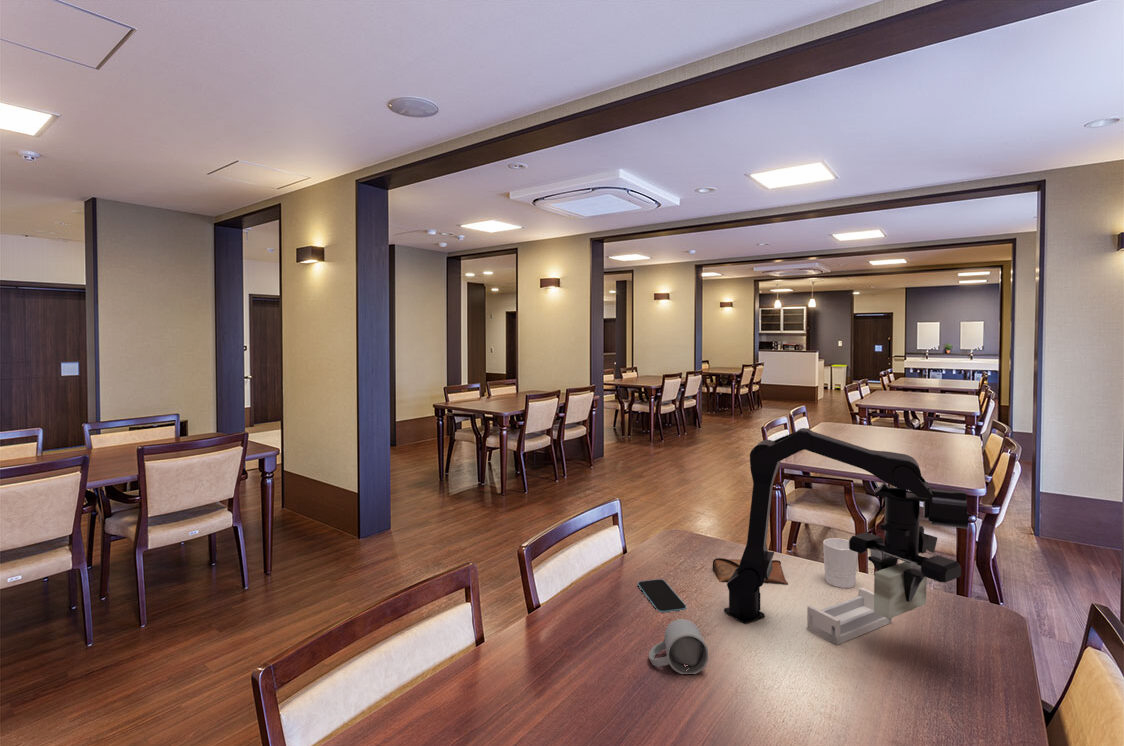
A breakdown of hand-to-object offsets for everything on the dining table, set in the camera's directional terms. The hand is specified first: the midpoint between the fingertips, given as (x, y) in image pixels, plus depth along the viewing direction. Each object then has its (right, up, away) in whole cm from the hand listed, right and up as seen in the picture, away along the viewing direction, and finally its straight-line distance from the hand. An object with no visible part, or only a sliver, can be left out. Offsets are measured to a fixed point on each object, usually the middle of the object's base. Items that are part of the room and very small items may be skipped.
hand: (900, 597), depth 108 cm
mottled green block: (0, -2, 0) cm, 2 cm away
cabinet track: (-5, -10, +10) cm, 15 cm away
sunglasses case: (-18, -10, +35) cm, 40 cm away
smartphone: (-43, -11, +25) cm, 50 cm away
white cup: (+4, -9, +31) cm, 32 cm away
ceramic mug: (-44, -12, -2) cm, 46 cm away
